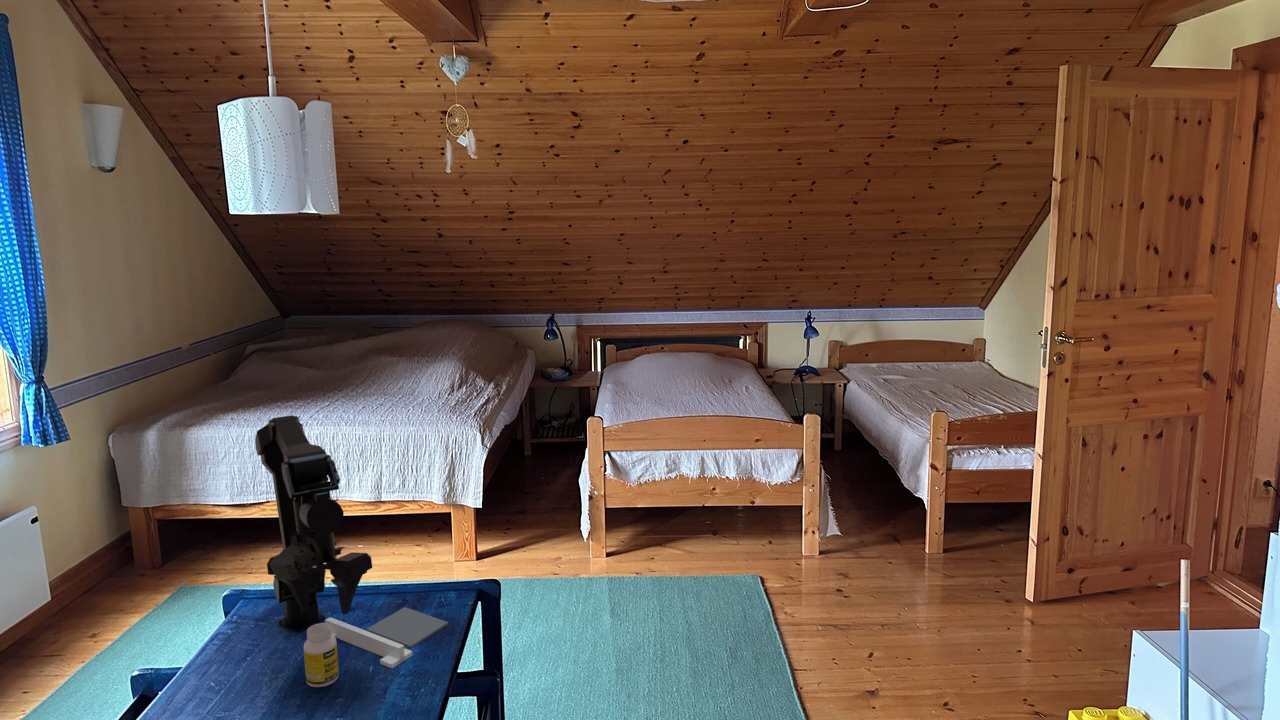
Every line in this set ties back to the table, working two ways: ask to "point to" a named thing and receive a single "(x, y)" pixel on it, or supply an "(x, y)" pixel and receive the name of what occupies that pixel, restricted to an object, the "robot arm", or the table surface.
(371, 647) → the white barrier
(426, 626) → the slate mat
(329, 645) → the supplement bottle
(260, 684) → the table surface
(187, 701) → the table surface
